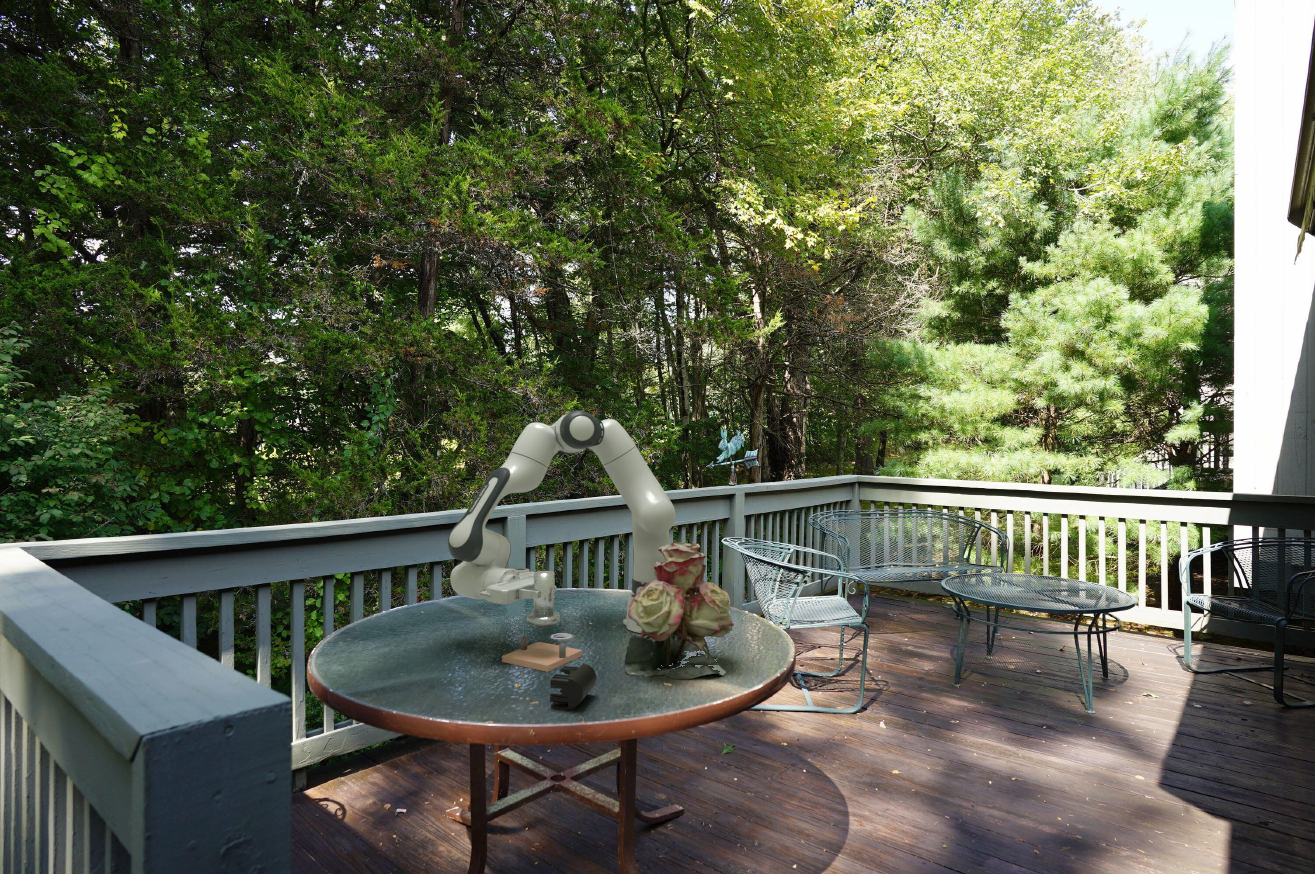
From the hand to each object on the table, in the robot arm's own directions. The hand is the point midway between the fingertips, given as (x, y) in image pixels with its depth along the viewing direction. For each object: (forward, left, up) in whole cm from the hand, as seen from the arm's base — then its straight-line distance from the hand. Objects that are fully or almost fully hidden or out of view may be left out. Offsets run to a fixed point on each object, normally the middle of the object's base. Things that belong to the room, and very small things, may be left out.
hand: (546, 592), depth 176 cm
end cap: (+19, +22, -17) cm, 33 cm away
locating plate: (0, -1, -17) cm, 17 cm away
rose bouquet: (-15, +30, -17) cm, 37 cm away
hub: (0, -1, -7) cm, 7 cm away
